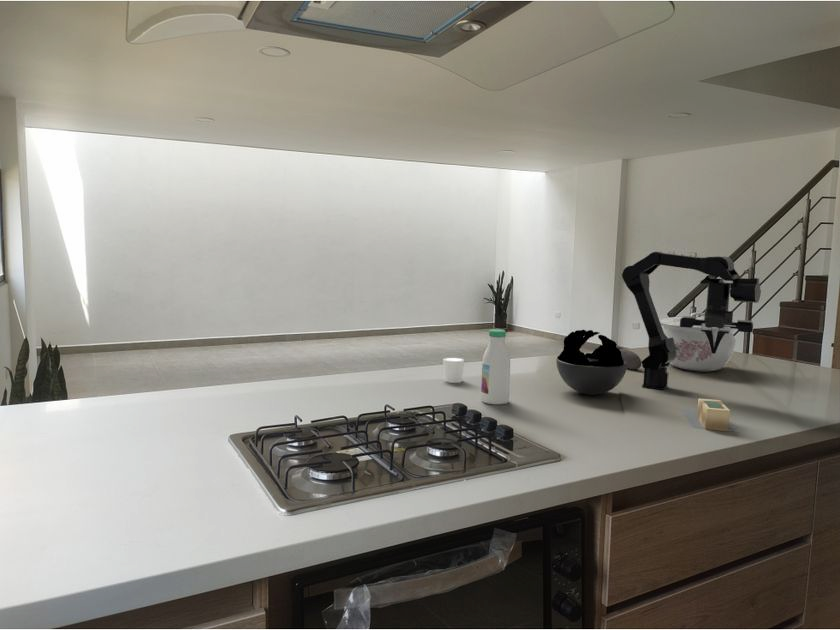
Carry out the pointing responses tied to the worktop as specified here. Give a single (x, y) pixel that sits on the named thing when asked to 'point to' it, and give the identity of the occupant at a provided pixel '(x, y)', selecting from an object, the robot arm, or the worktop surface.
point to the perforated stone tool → (630, 359)
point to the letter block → (713, 414)
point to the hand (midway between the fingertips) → (713, 353)
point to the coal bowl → (590, 364)
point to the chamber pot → (697, 346)
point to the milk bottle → (496, 370)
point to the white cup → (453, 369)
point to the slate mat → (696, 423)
